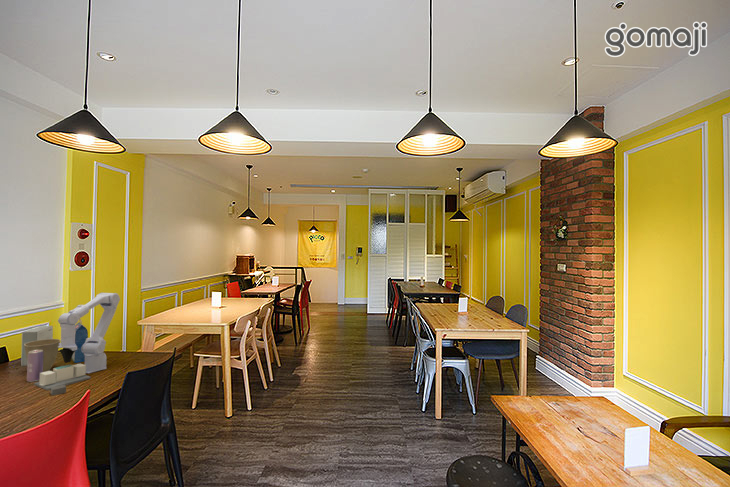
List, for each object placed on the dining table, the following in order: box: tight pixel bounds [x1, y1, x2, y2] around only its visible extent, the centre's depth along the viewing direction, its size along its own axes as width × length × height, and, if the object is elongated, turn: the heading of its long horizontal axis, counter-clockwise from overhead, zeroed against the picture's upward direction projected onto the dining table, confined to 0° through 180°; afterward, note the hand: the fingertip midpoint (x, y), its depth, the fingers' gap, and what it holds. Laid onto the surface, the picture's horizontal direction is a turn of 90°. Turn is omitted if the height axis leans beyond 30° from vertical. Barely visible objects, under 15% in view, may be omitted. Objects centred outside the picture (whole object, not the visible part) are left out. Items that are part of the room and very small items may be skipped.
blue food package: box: [71, 318, 89, 364], centre depth 216 cm, size 6×12×25 cm, turn 46°
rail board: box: [33, 363, 92, 391], centre depth 180 cm, size 18×14×6 cm
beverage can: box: [26, 350, 43, 383], centre depth 182 cm, size 6×6×15 cm
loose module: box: [52, 364, 74, 382], centre depth 180 cm, size 7×4×6 cm, turn 153°
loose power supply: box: [50, 385, 67, 397], centre depth 166 cm, size 5×4×3 cm
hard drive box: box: [20, 325, 54, 367], centre depth 211 cm, size 16×8×20 cm, turn 14°
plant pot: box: [24, 338, 61, 372], centre depth 195 cm, size 15×15×16 cm
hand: (67, 362), depth 183 cm, fingers closed
